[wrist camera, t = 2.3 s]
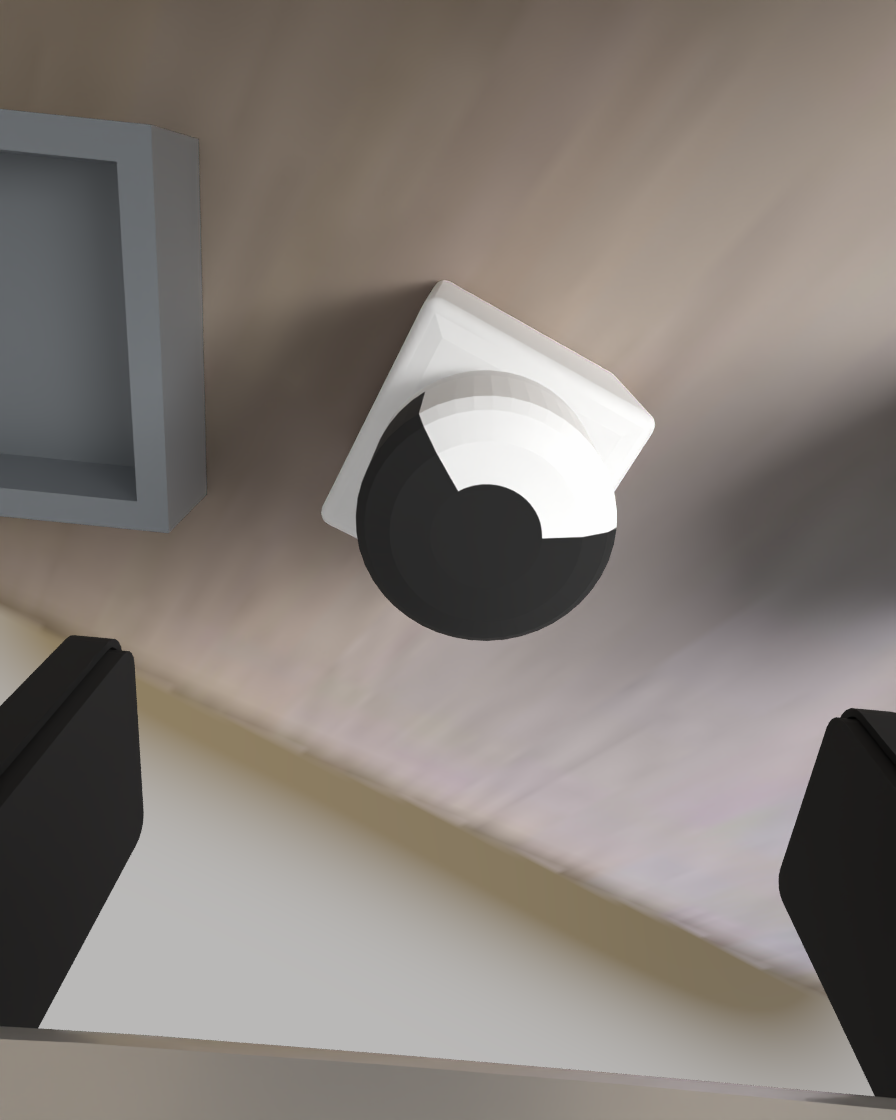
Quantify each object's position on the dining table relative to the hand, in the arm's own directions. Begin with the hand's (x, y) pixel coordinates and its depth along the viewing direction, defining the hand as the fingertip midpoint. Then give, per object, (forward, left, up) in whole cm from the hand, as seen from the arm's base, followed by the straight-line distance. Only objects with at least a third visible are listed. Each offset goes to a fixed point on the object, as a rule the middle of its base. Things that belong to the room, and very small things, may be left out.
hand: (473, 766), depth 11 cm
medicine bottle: (0, 0, -20) cm, 20 cm away
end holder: (+16, -2, -20) cm, 25 cm away
